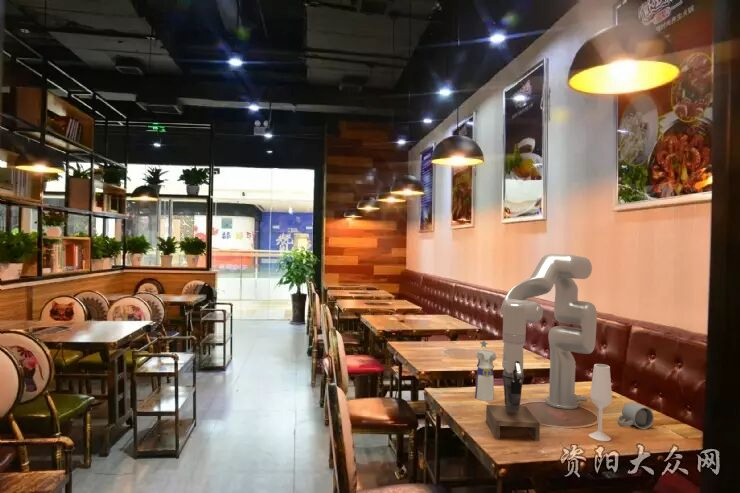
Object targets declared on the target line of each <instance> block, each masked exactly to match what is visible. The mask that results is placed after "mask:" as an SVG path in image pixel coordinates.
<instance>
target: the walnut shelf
mask: <svg viewBox="0 0 740 493" xmlns="http://www.w3.org/2000/svg"><path fill="white" fill-rule="evenodd" d="M485 407H486V410H485V411H486V415H485V422H486V424H487V425H488V427H489V430H490V431H491V433H492V435H493V437H494V438H495V440H500V439H501V435H500V434H501V427H523V428H525V429H526V431H527V432H528V433H529V435H530V436H531V437H532V438H533V440H534V441H535V442H540V429H541V428H540V427H541V425H540V422H539V420H538V419H537V418H536V416H535V415H534V414H533V413H532V412H531V410H530V409H528V407H527V406H525V405H524V406H523V405H520V407H519V411H517V412H511V411H508V410H506V409H505V408H506V407H505V404H504V405H501V404H500V405H499V404H486V406H485Z"/></svg>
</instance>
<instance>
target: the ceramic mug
mask: <svg viewBox="0 0 740 493" xmlns="http://www.w3.org/2000/svg"><path fill="white" fill-rule="evenodd" d="M654 417H655V416H654V413H653V411H652V410H651V409H650V408H648V407H647V406H644V405H641V404H638V403H636V402H628V403H626V404H624V405H623V407H622V410H621V415H620V416H618V417H617V423H618V424H619V426H621V427H630V426H632V425H633V426H635V428H639V429H641V430H645V429H646V430H647V429H649V428H651V426H653V423H654V420H655V418H654ZM623 420H626V421H623Z"/></svg>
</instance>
